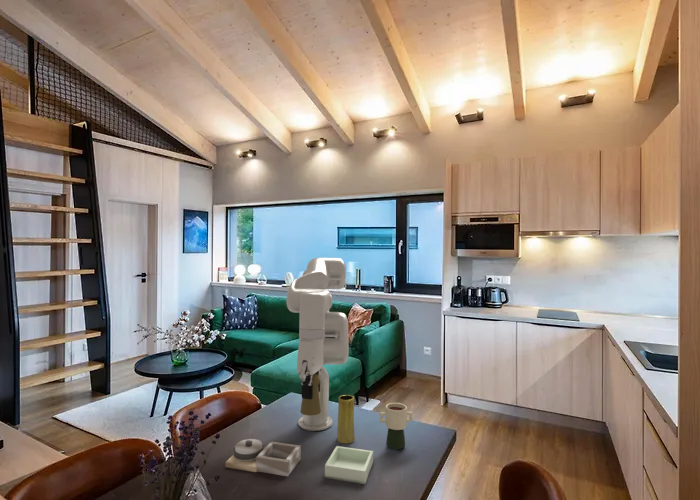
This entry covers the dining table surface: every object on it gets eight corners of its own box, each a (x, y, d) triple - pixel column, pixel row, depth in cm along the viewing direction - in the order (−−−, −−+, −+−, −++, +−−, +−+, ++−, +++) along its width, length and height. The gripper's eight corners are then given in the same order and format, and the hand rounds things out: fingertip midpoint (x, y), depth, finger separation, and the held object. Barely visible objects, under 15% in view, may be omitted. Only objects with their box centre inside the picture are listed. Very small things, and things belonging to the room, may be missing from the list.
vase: (357, 437, 136) (357, 395, 136) (351, 445, 130) (351, 401, 131) (340, 434, 138) (341, 393, 138) (334, 442, 132) (334, 399, 133)
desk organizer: (244, 449, 127) (244, 432, 127) (301, 458, 122) (301, 440, 122) (225, 467, 116) (225, 448, 116) (287, 477, 111) (287, 457, 111)
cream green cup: (409, 440, 134) (409, 402, 134) (414, 451, 127) (415, 410, 127) (377, 441, 133) (378, 402, 133) (381, 452, 126) (381, 411, 126)
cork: (317, 416, 113) (317, 378, 113) (297, 414, 115) (297, 376, 115) (323, 408, 119) (324, 372, 119) (304, 406, 121) (305, 370, 121)
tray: (336, 457, 122) (336, 446, 123) (373, 462, 120) (373, 451, 120) (324, 477, 111) (324, 465, 111) (365, 484, 108) (365, 471, 108)
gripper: (311, 327, 126) (310, 384, 126) (287, 338, 110) (286, 404, 110) (333, 329, 124) (332, 387, 124) (312, 340, 108) (311, 407, 108)
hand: (311, 394), depth 117 cm, fingers closed on cork, 5 cm apart
